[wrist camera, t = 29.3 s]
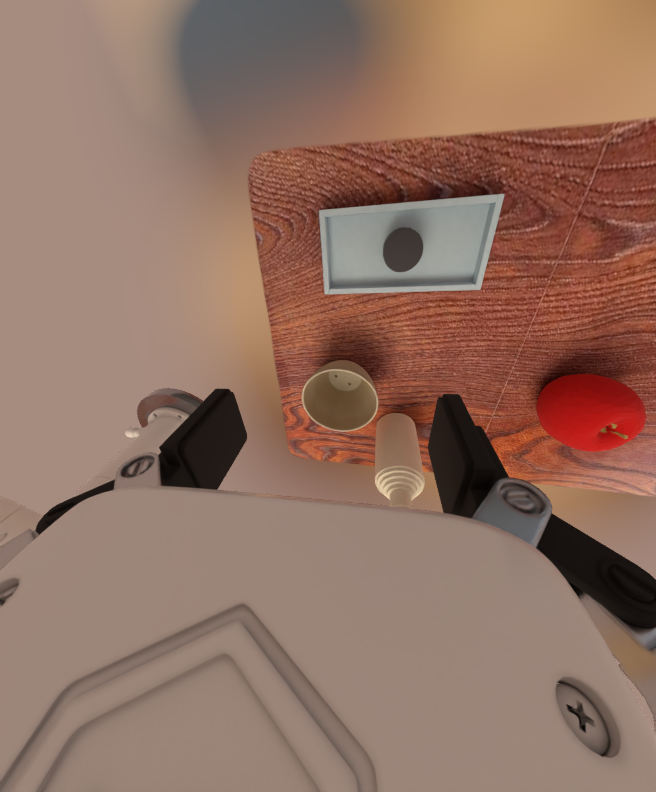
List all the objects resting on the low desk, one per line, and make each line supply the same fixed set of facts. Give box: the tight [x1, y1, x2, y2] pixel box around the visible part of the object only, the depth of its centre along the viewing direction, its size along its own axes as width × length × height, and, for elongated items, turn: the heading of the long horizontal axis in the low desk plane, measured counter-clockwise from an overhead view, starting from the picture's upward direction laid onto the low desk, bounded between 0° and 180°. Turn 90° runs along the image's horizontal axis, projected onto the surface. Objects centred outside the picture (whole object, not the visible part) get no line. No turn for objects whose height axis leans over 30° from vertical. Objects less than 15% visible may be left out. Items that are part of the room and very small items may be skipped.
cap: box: [383, 227, 423, 272], centre depth 27 cm, size 4×4×3 cm
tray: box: [319, 194, 505, 294], centre depth 27 cm, size 17×8×2 cm, turn 94°
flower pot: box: [302, 360, 378, 432], centre depth 36 cm, size 10×10×7 cm
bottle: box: [375, 413, 425, 509], centre depth 36 cm, size 6×6×16 cm
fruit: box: [536, 374, 646, 452], centre depth 30 cm, size 9×9×10 cm
